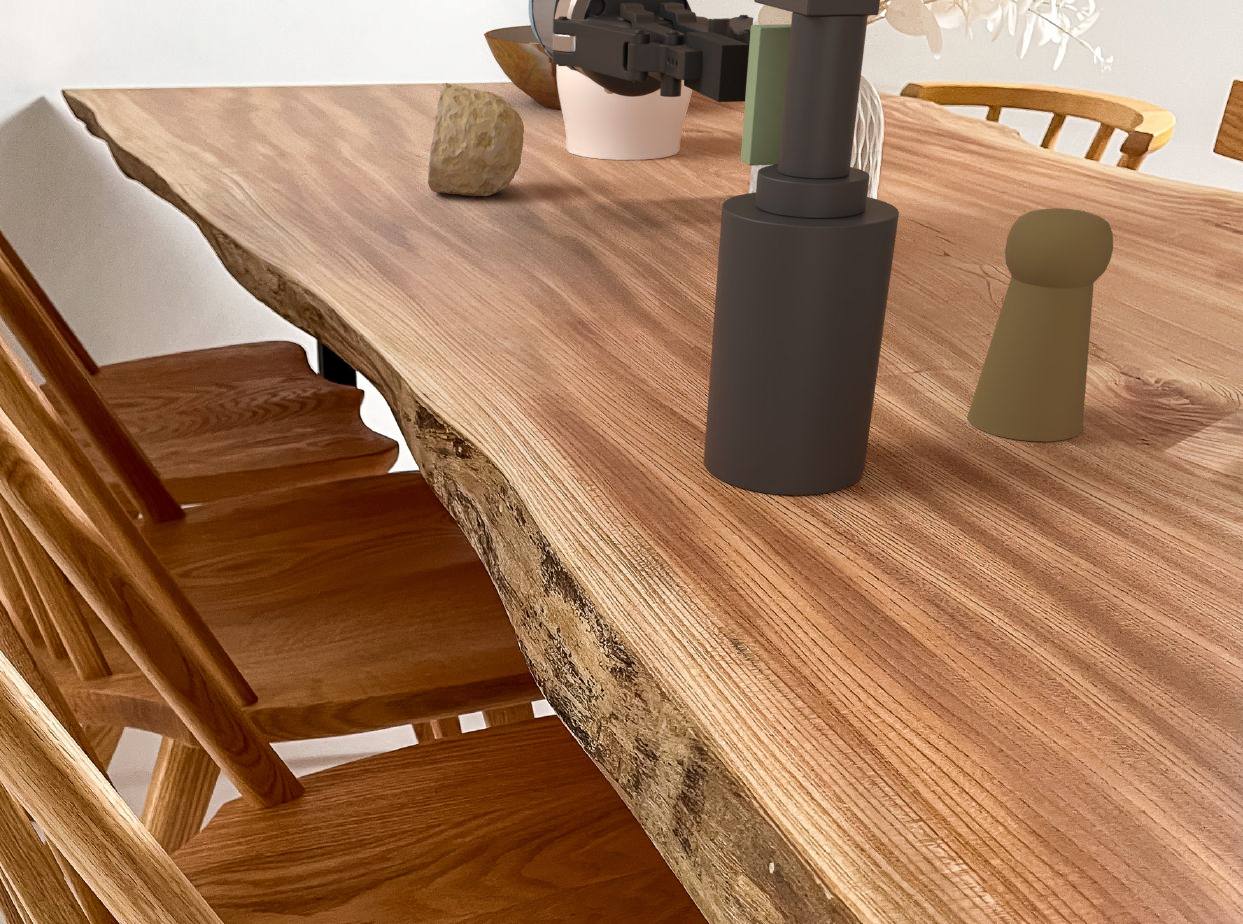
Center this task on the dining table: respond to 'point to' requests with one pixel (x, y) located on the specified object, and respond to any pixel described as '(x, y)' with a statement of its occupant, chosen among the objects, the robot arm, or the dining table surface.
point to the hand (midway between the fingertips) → (734, 73)
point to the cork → (1043, 327)
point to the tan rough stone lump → (474, 143)
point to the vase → (619, 120)
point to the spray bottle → (802, 281)
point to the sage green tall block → (765, 94)
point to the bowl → (525, 63)
